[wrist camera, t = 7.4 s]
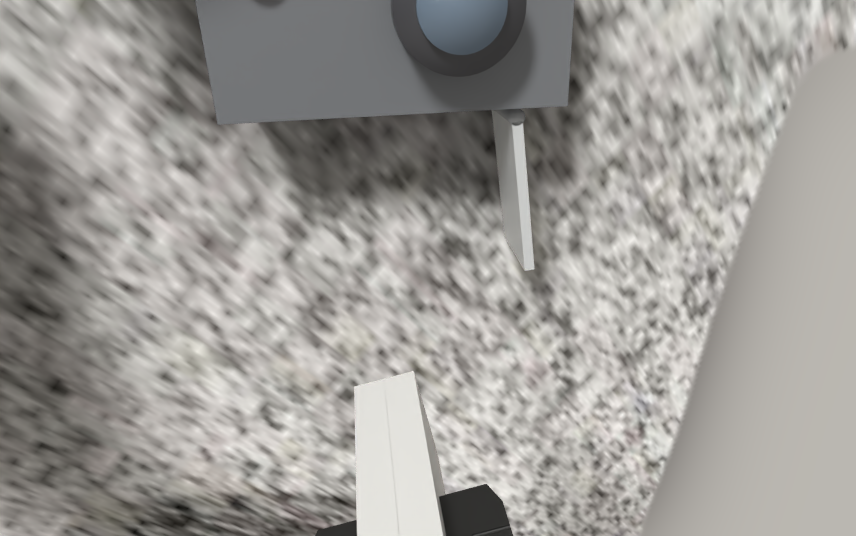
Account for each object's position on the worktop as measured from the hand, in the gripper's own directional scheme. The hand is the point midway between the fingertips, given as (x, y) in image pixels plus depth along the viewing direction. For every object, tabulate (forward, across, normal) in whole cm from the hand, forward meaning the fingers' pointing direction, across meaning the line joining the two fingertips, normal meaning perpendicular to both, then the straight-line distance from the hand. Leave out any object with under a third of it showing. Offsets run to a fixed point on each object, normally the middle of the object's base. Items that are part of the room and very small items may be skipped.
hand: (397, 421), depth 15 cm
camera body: (+26, +4, +9) cm, 27 cm away
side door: (+25, +8, -2) cm, 26 cm away
